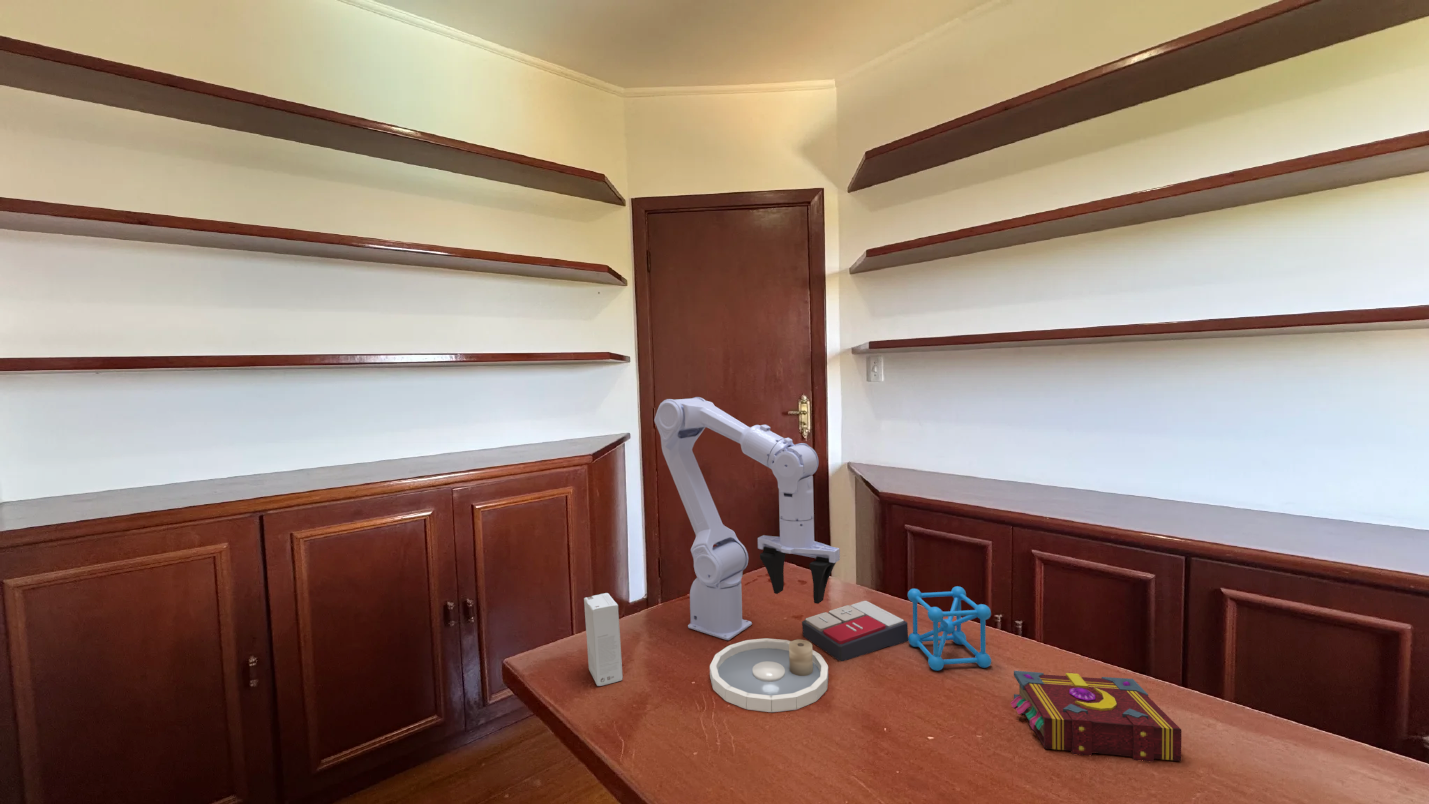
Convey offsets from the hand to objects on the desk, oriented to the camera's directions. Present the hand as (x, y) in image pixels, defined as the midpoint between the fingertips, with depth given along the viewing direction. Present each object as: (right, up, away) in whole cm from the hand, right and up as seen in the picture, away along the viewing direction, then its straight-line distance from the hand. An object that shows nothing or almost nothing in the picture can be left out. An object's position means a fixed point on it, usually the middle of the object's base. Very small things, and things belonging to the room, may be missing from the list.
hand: (798, 596), depth 95 cm
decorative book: (+34, -10, -22) cm, 42 cm away
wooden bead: (-1, -9, -7) cm, 11 cm away
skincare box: (-32, -11, -6) cm, 34 cm away
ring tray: (-6, -10, -8) cm, 14 cm away
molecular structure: (+24, -9, -3) cm, 26 cm away
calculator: (+11, -10, +5) cm, 15 cm away
